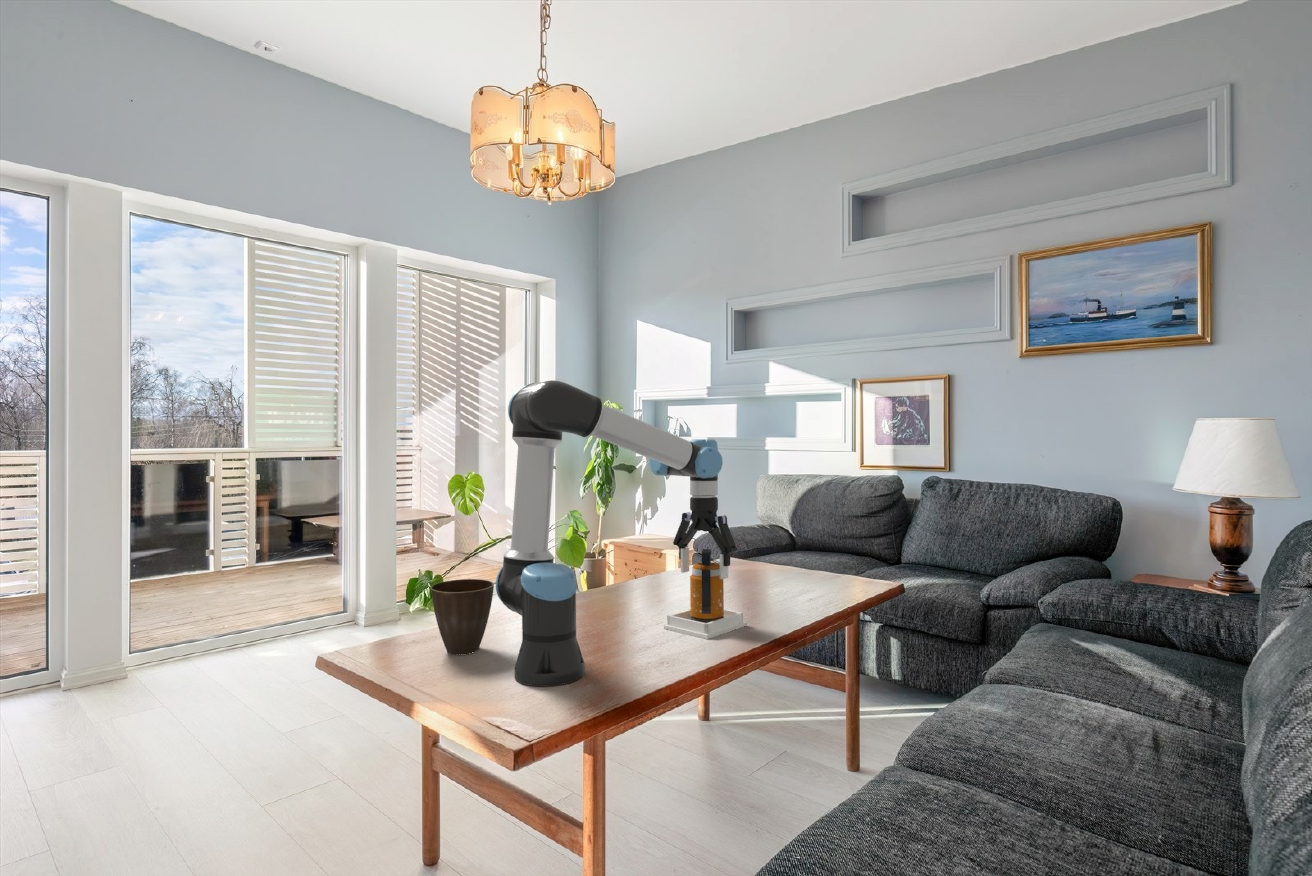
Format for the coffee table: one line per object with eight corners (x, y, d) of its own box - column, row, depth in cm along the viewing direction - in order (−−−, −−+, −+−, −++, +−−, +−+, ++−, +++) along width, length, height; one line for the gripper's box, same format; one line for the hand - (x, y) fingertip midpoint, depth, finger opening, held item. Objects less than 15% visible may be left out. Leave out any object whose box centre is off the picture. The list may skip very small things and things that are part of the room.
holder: (707, 639, 180) (706, 625, 180) (663, 628, 190) (663, 615, 190) (746, 625, 192) (746, 612, 192) (704, 616, 203) (703, 604, 203)
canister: (724, 619, 196) (723, 546, 196) (723, 630, 185) (722, 553, 185) (691, 618, 197) (690, 546, 197) (689, 629, 186) (688, 553, 186)
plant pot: (507, 648, 175) (506, 583, 175) (459, 664, 162) (458, 594, 162) (466, 638, 183) (466, 576, 183) (418, 653, 171) (417, 587, 171)
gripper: (749, 498, 186) (750, 579, 185) (678, 493, 203) (678, 567, 203) (732, 499, 180) (732, 583, 180) (660, 494, 197) (660, 571, 197)
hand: (704, 575), depth 191 cm, fingers open, 13 cm apart
